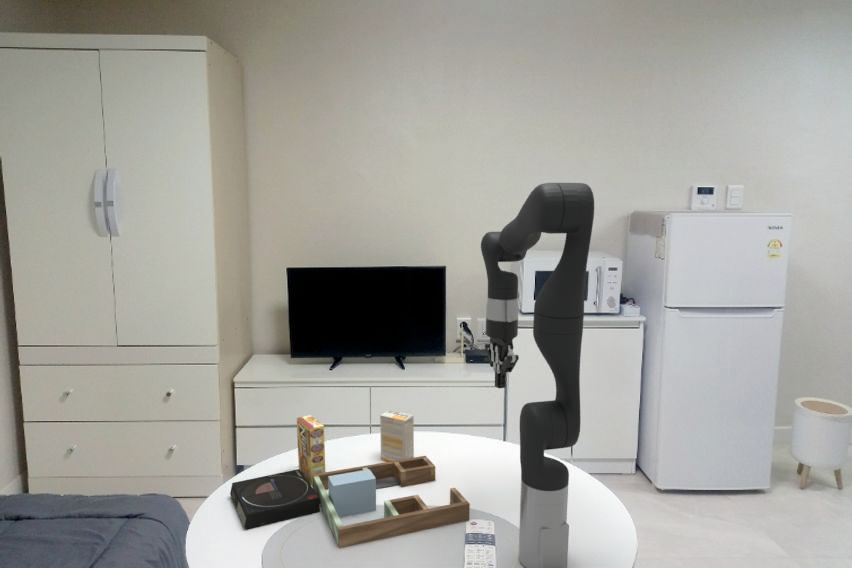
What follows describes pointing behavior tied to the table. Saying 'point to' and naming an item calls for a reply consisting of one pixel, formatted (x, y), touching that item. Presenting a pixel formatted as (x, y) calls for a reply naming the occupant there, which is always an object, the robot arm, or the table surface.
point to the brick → (352, 492)
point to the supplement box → (396, 436)
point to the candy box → (310, 447)
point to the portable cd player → (274, 498)
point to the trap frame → (393, 503)
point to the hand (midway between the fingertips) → (500, 387)
